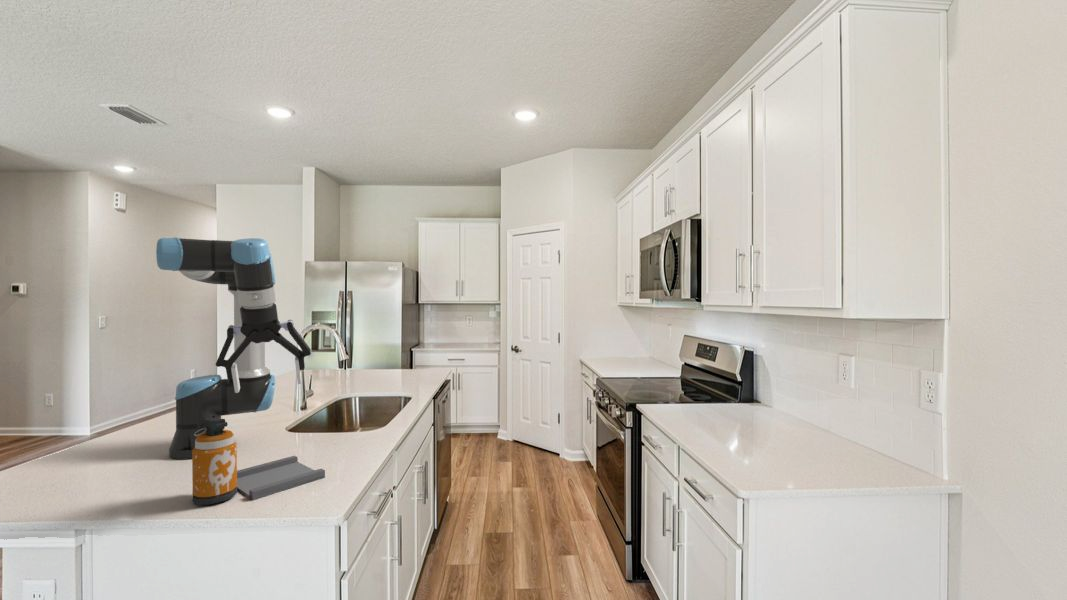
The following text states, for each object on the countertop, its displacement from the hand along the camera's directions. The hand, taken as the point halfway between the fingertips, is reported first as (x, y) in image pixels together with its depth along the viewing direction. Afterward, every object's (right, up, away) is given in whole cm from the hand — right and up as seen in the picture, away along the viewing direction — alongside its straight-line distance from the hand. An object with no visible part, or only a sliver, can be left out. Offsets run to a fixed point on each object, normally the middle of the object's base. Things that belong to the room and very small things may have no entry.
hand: (269, 386), depth 117 cm
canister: (-13, -27, -2) cm, 30 cm away
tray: (-3, -27, +9) cm, 28 cm away
